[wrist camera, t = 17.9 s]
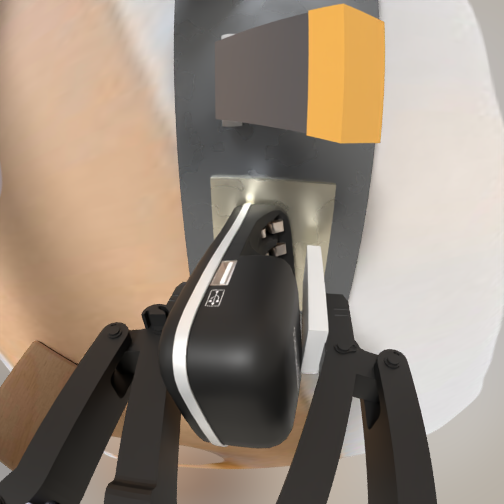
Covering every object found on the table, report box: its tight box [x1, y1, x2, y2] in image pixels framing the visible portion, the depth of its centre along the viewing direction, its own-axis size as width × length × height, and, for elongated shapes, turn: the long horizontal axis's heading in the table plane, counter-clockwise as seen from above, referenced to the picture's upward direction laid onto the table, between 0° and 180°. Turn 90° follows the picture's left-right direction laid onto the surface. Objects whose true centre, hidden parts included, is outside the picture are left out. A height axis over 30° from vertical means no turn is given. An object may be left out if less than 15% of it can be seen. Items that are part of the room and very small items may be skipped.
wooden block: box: [0, 341, 78, 471], centre depth 28 cm, size 10×10×20 cm
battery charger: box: [158, 203, 302, 448], centre depth 13 cm, size 7×4×11 cm, turn 9°
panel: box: [174, 0, 379, 313], centre depth 15 cm, size 11×28×2 cm, turn 0°
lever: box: [215, 4, 385, 143], centre depth 10 cm, size 2×5×8 cm
